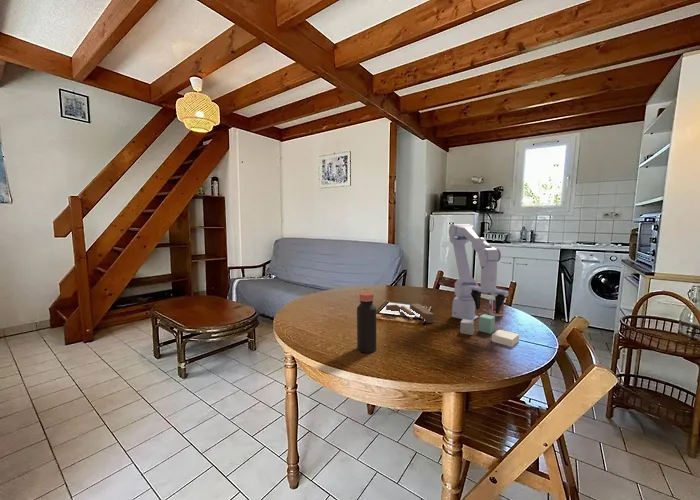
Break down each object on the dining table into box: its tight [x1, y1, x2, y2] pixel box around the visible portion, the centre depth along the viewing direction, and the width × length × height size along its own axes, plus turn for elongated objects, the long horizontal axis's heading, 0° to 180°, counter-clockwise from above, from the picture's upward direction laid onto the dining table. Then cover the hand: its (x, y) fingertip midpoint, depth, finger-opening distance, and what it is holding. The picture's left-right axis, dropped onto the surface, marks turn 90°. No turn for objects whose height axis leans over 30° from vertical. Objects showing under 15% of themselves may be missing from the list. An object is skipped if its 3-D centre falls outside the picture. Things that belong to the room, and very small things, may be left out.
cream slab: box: [491, 329, 520, 348], centre depth 109 cm, size 7×7×3 cm
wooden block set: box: [385, 303, 435, 324], centre depth 136 cm, size 17×6×18 cm
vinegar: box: [356, 291, 377, 354], centre depth 103 cm, size 7×7×20 cm
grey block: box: [459, 319, 475, 336], centre depth 118 cm, size 4×4×4 cm
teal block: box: [478, 313, 496, 335], centre depth 119 cm, size 4×4×6 cm
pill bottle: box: [488, 294, 505, 317], centre depth 139 cm, size 6×6×11 cm
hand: (487, 310), depth 119 cm, fingers open, 7 cm apart
